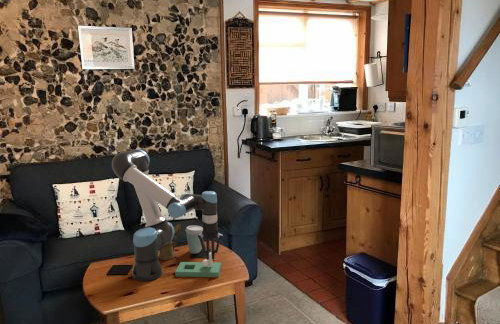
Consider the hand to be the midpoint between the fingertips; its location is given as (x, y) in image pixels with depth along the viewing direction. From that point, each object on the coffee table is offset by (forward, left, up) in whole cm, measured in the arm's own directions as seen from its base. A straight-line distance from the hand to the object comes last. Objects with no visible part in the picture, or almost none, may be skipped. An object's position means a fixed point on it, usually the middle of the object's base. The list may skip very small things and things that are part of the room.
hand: (210, 265), depth 213 cm
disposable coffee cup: (-13, +26, -4) cm, 30 cm away
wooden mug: (-26, +19, -4) cm, 33 cm away
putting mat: (-6, 0, -4) cm, 7 cm away
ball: (-3, 0, +1) cm, 3 cm away
